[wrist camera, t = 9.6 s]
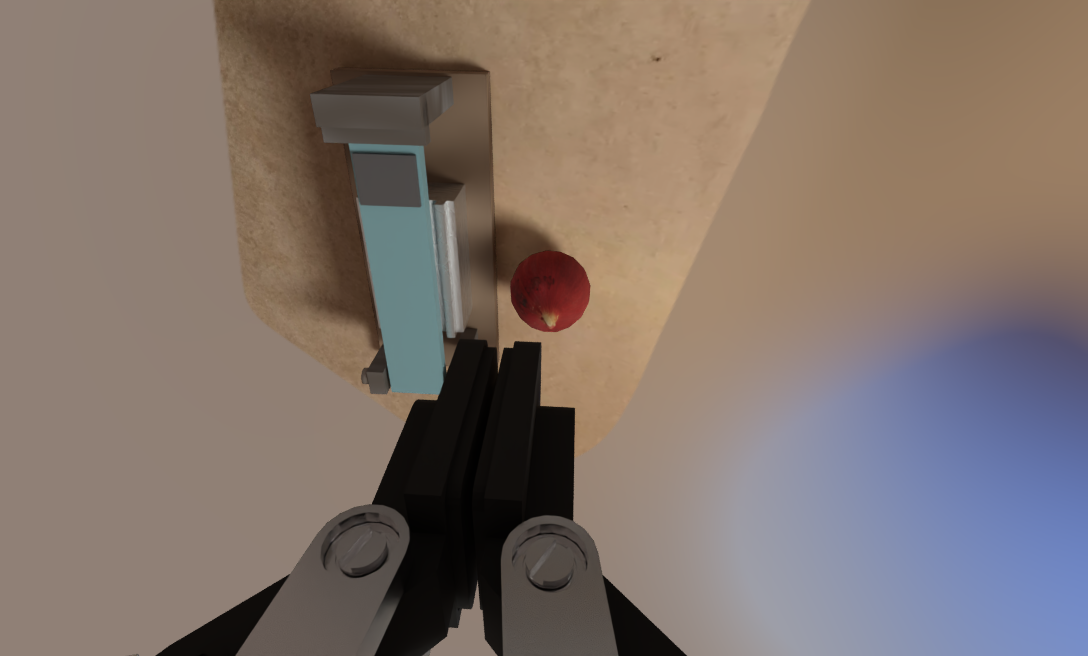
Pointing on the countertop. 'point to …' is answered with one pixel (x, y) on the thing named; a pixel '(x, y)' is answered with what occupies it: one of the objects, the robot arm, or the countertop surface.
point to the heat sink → (447, 255)
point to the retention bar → (402, 262)
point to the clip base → (450, 157)
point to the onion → (550, 291)
